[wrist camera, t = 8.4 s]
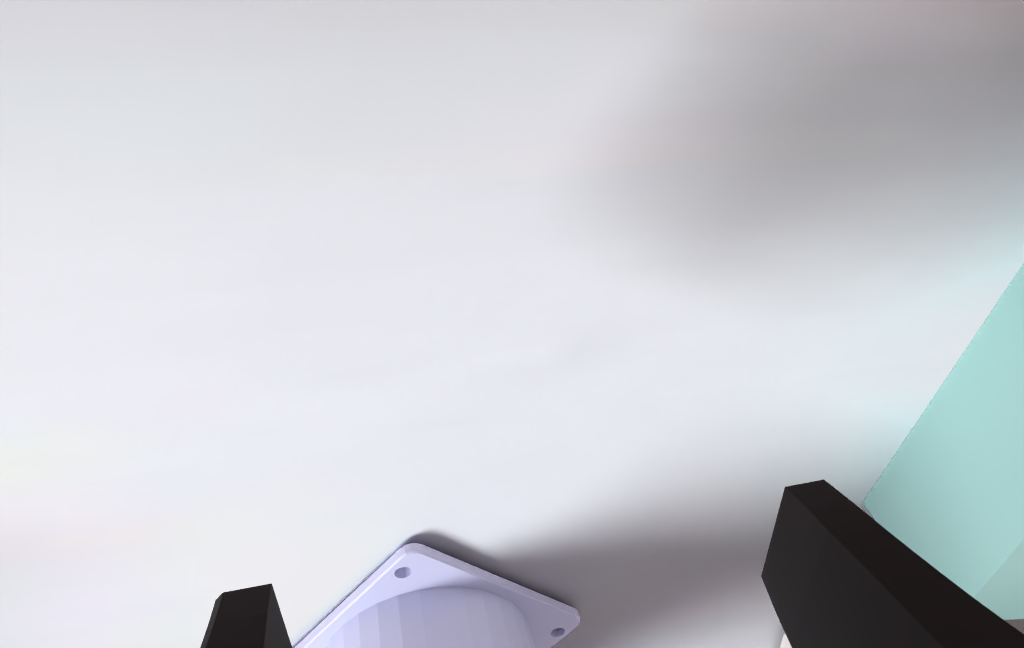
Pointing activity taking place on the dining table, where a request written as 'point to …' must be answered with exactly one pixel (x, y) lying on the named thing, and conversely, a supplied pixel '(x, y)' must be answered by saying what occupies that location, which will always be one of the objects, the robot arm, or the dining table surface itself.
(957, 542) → the mint green rectangular block
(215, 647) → the robot arm
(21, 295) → the dining table surface
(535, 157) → the dining table surface
